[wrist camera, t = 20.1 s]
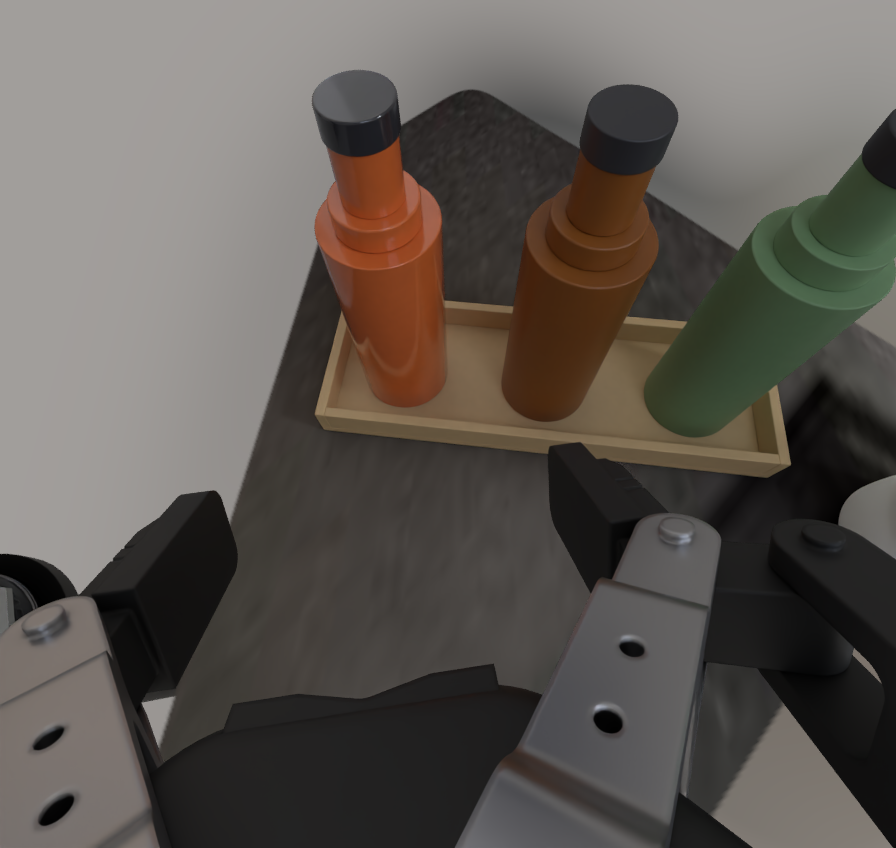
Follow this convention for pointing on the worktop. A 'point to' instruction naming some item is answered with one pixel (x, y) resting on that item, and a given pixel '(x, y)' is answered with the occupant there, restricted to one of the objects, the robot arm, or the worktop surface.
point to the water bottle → (873, 514)
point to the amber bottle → (586, 255)
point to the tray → (593, 424)
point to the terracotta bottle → (381, 241)
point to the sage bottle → (783, 297)
